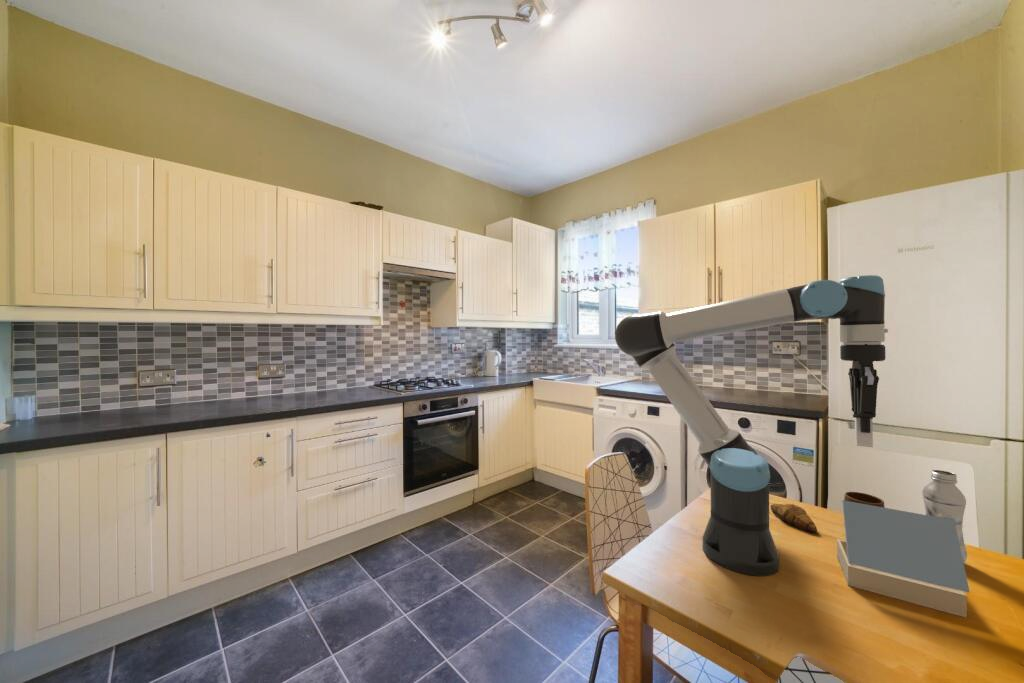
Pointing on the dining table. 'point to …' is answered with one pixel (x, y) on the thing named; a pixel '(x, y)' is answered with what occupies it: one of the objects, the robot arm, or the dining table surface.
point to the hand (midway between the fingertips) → (863, 445)
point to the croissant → (794, 516)
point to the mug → (863, 499)
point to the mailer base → (901, 586)
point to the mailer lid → (904, 544)
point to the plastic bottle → (946, 502)
